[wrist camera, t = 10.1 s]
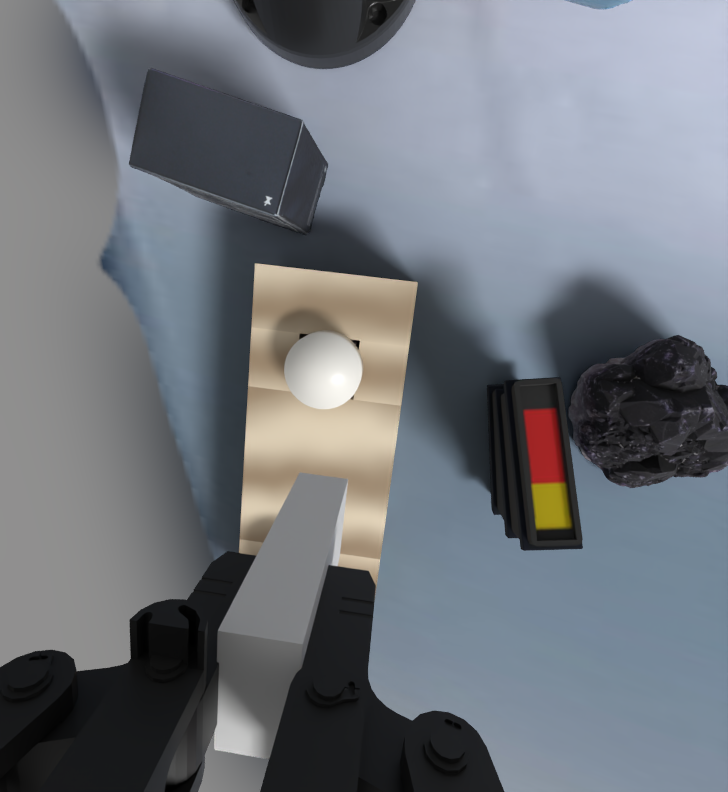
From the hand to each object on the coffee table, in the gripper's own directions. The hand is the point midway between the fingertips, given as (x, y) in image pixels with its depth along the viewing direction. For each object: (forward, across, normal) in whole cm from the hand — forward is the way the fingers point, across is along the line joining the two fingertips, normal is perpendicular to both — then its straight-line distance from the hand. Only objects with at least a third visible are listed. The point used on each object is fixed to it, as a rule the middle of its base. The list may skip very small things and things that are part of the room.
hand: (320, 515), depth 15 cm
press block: (+29, -3, -10) cm, 31 cm away
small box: (+30, -11, +13) cm, 35 cm away
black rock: (+30, +24, -2) cm, 38 cm away
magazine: (+29, +12, -6) cm, 32 cm away
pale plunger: (+28, -3, -1) cm, 28 cm away
